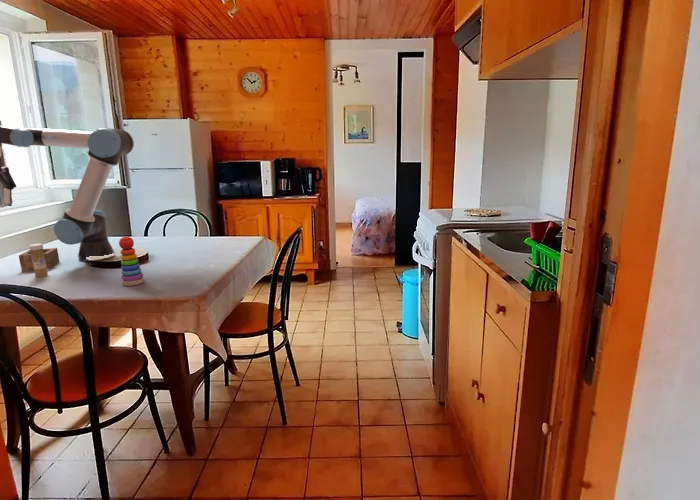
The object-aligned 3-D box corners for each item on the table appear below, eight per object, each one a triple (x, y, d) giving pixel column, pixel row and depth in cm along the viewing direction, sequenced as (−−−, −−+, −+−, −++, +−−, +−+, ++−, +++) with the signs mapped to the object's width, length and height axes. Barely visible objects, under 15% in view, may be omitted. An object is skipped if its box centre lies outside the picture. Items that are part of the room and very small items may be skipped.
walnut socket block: (59, 262, 204) (57, 247, 202) (50, 268, 193) (47, 253, 192) (32, 264, 201) (29, 249, 199) (21, 271, 191) (18, 255, 189)
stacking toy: (126, 280, 175) (120, 234, 170) (147, 279, 176) (141, 233, 171) (118, 287, 167) (111, 239, 163) (140, 286, 168) (133, 238, 163)
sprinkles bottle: (40, 277, 181) (34, 246, 178) (32, 276, 182) (26, 245, 179) (50, 274, 185) (44, 243, 182) (42, 273, 186) (36, 242, 183)
